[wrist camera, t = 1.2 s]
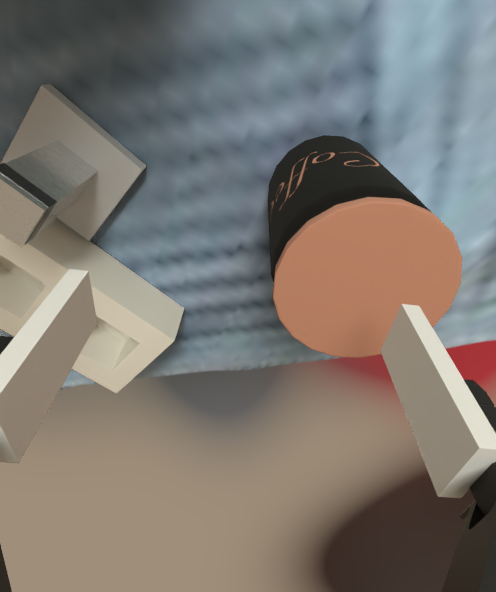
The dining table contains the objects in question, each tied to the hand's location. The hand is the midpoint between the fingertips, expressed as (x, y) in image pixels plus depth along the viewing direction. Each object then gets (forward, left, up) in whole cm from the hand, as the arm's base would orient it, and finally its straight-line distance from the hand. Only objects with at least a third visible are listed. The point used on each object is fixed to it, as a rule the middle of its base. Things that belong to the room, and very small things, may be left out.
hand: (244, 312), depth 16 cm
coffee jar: (+6, +3, -23) cm, 24 cm away
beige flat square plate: (-13, -12, -23) cm, 29 cm away
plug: (-13, -12, -22) cm, 28 cm away
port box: (-6, -24, -23) cm, 34 cm away
